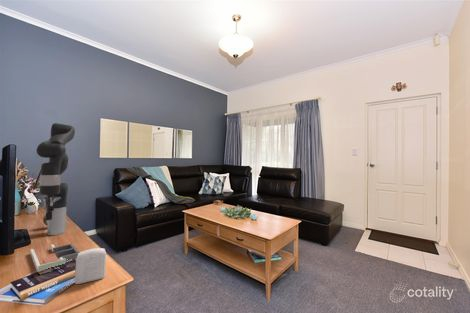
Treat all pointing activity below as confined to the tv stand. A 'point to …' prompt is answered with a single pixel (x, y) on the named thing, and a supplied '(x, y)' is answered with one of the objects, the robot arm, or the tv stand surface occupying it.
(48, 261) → the red block
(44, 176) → the robot arm
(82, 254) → the photo printer
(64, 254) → the box
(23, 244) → the tv stand surface
